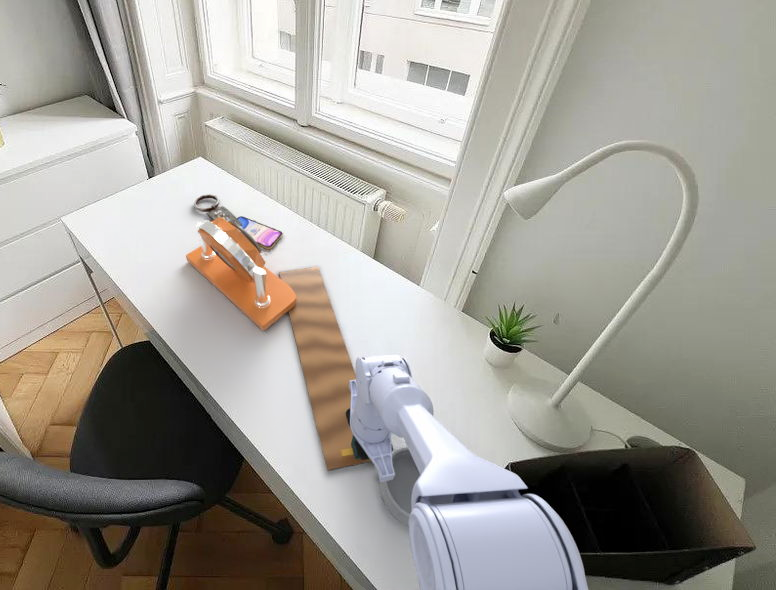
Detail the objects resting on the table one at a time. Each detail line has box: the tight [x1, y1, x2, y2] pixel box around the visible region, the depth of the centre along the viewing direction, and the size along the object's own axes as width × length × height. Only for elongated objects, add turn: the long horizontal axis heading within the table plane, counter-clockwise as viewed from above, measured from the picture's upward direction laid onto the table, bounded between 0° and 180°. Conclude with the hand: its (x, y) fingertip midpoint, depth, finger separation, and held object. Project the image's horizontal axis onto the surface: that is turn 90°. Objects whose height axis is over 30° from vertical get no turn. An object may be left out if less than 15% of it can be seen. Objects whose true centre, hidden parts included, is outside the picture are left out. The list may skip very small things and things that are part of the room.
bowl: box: [379, 446, 420, 527], centre depth 64 cm, size 10×10×4 cm
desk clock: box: [185, 217, 296, 332], centre depth 94 cm, size 12×30×20 cm, turn 43°
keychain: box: [193, 193, 242, 226], centre depth 120 cm, size 8×19×2 cm, turn 36°
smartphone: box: [236, 215, 284, 250], centre depth 113 cm, size 8×15×1 cm, turn 58°
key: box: [341, 435, 359, 459], centre depth 67 cm, size 6×2×4 cm, turn 100°
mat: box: [278, 266, 372, 471], centre depth 85 cm, size 45×10×1 cm, turn 10°
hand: (363, 447), depth 68 cm, fingers closed on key, 2 cm apart
